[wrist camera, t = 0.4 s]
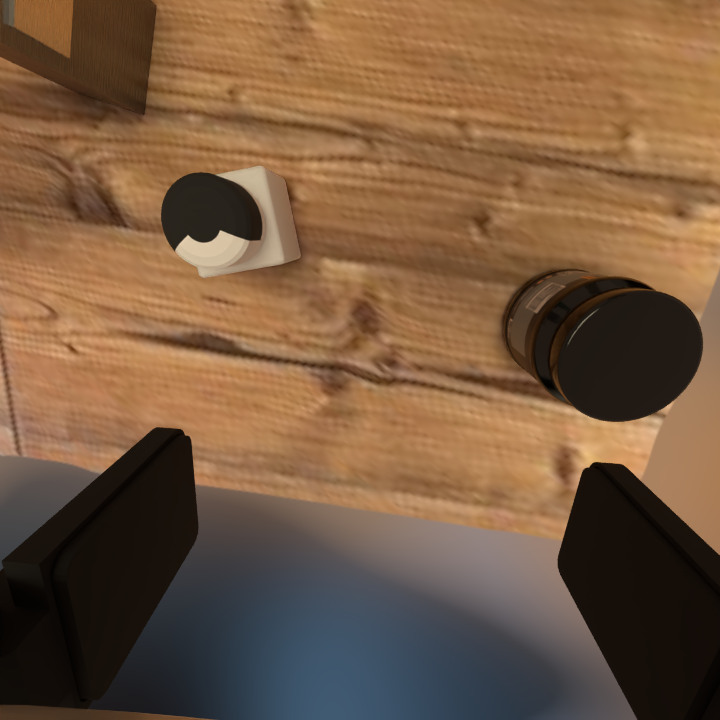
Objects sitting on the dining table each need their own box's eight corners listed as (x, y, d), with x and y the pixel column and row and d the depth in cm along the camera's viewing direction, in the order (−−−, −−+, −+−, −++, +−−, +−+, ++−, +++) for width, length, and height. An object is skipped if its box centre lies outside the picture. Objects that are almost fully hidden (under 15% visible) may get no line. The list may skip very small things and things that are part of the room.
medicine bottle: (210, 192, 35) (130, 172, 24) (285, 177, 35) (240, 150, 23) (231, 271, 38) (167, 287, 26) (302, 258, 37) (268, 269, 25)
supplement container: (594, 377, 39) (682, 436, 28) (490, 368, 39) (536, 422, 28) (624, 272, 36) (739, 290, 25) (511, 262, 36) (573, 275, 25)
